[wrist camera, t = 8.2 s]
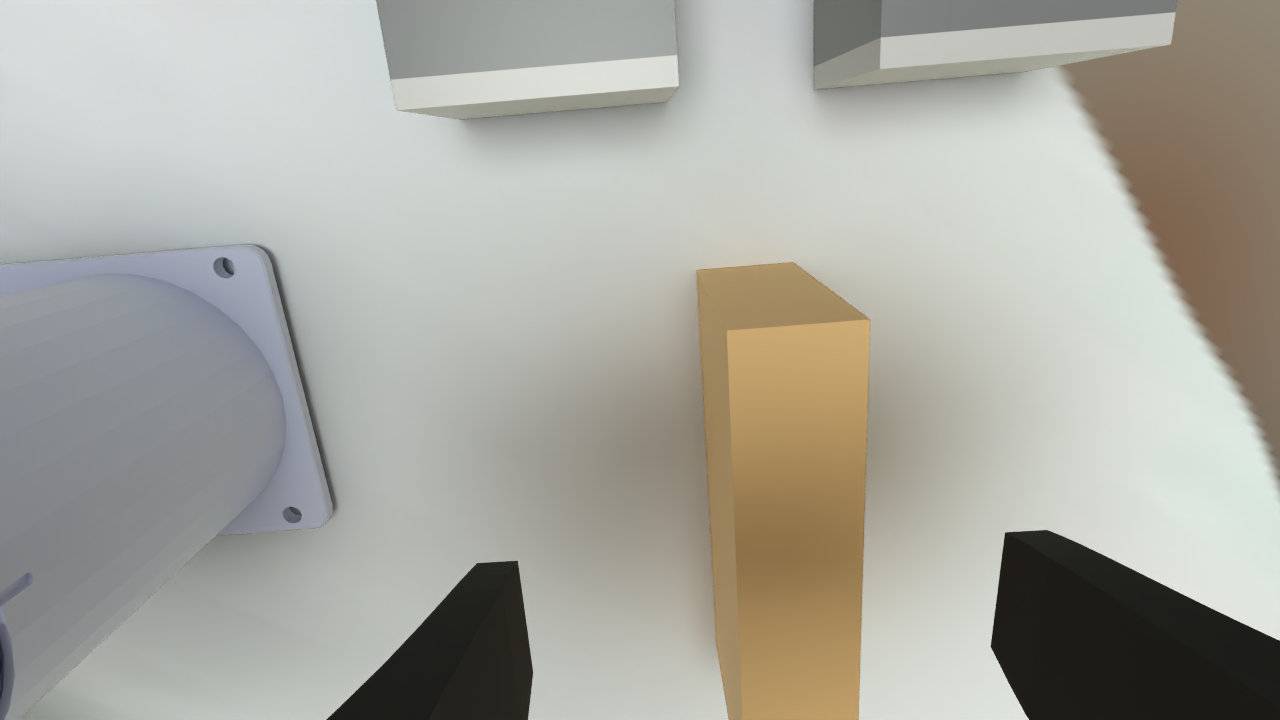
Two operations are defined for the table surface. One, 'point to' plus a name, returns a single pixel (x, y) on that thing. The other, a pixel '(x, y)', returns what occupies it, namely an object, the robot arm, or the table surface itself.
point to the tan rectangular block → (785, 488)
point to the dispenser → (647, 49)
